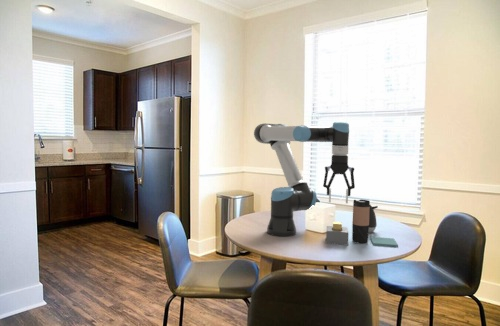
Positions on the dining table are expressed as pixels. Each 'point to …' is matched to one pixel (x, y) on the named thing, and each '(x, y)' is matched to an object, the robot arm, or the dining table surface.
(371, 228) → the pump dispenser
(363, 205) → the travel mug
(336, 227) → the plunger
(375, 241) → the mat
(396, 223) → the dining table surface
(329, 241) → the block
